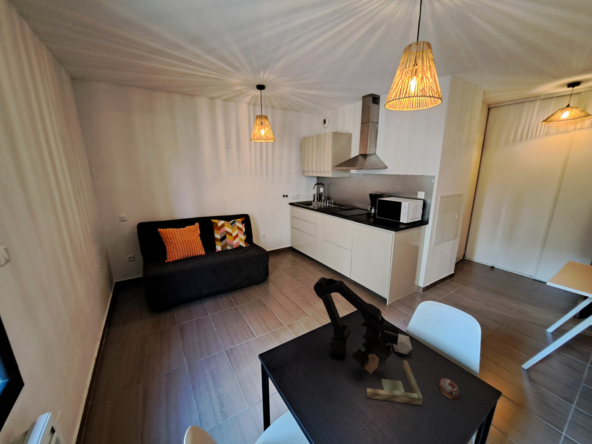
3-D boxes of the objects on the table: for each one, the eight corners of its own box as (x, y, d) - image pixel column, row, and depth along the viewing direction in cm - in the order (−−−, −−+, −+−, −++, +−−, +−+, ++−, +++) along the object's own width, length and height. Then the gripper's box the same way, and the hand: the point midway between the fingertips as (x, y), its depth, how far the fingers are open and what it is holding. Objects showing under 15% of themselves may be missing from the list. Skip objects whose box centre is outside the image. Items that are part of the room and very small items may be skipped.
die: (411, 348, 111) (401, 328, 114) (419, 354, 103) (408, 332, 105) (395, 355, 111) (386, 334, 114) (402, 361, 103) (391, 339, 105)
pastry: (452, 403, 85) (454, 393, 84) (433, 386, 92) (435, 376, 91) (464, 394, 89) (466, 384, 87) (445, 378, 95) (447, 369, 94)
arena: (367, 397, 87) (367, 390, 87) (361, 360, 104) (361, 354, 103) (421, 404, 85) (422, 398, 84) (406, 365, 101) (407, 359, 100)
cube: (370, 373, 97) (371, 363, 96) (360, 365, 102) (361, 355, 100) (377, 367, 101) (379, 357, 99) (367, 358, 105) (368, 349, 103)
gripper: (375, 359, 85) (372, 390, 89) (401, 336, 96) (397, 365, 100) (352, 341, 94) (350, 370, 98) (378, 322, 105) (375, 349, 109)
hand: (369, 364), depth 101 cm, fingers open, 9 cm apart
